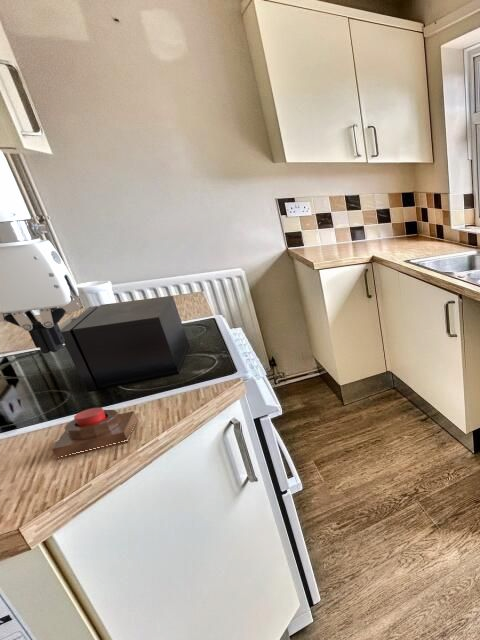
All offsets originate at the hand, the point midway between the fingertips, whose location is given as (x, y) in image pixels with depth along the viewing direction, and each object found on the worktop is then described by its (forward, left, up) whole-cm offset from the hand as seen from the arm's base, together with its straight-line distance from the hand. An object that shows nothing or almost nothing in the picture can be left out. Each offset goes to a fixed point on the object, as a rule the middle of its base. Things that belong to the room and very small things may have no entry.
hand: (53, 349), depth 68 cm
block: (+1, -2, -17) cm, 17 cm away
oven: (+3, +32, -17) cm, 36 cm away
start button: (+1, -2, -13) cm, 13 cm away
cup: (-12, +70, -17) cm, 73 cm away
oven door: (-7, +32, -17) cm, 37 cm away
